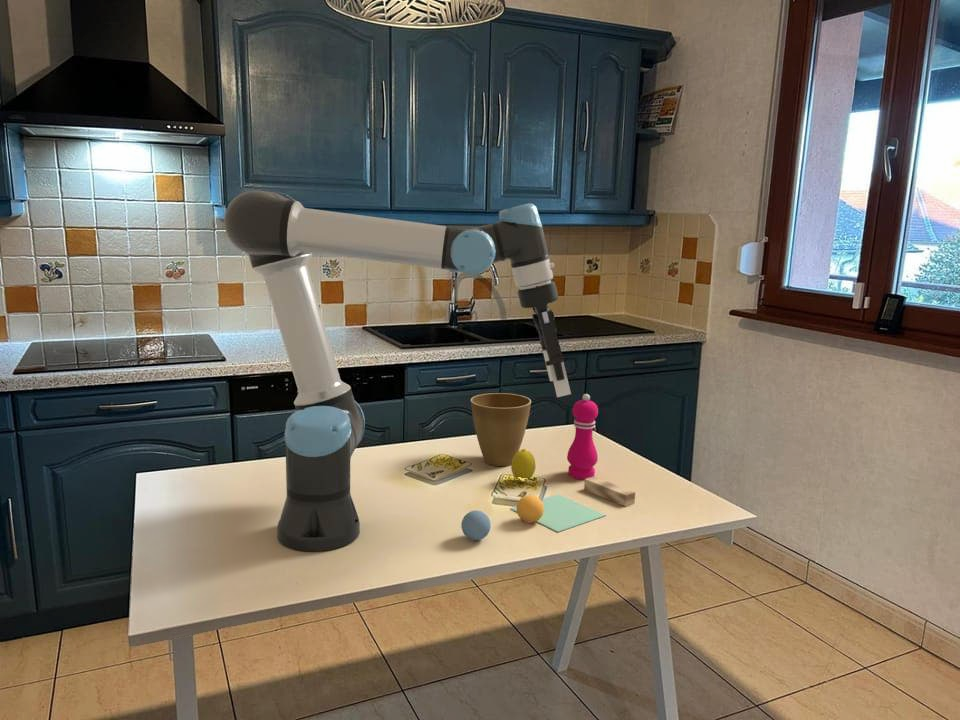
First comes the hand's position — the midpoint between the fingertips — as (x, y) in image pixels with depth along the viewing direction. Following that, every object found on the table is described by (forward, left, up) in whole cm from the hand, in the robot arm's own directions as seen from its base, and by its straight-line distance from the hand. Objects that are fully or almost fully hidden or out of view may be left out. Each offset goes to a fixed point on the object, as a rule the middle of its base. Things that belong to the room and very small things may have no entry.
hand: (560, 387), depth 146 cm
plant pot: (-29, +17, -27) cm, 43 cm away
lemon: (-16, +10, -27) cm, 33 cm away
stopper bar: (+3, +17, -27) cm, 32 cm away
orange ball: (-1, -7, -24) cm, 25 cm away
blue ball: (-3, -21, -24) cm, 32 cm away
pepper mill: (-9, +24, -27) cm, 37 cm away
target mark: (+1, +1, -27) cm, 27 cm away
